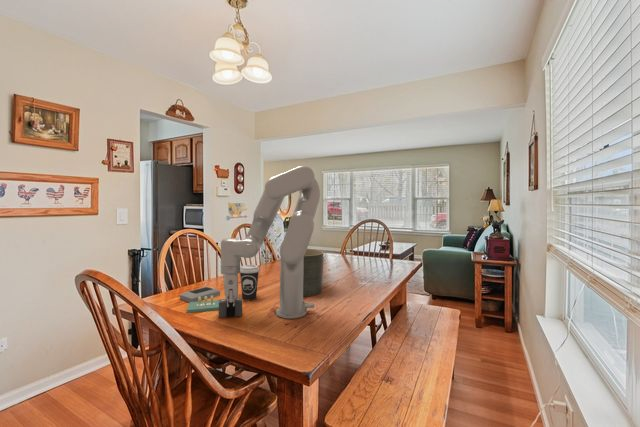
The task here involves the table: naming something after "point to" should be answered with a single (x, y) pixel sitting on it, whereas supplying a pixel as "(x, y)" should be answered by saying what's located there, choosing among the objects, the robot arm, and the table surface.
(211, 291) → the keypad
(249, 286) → the coffee cup
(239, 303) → the block
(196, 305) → the board
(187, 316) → the table surface
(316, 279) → the planter
